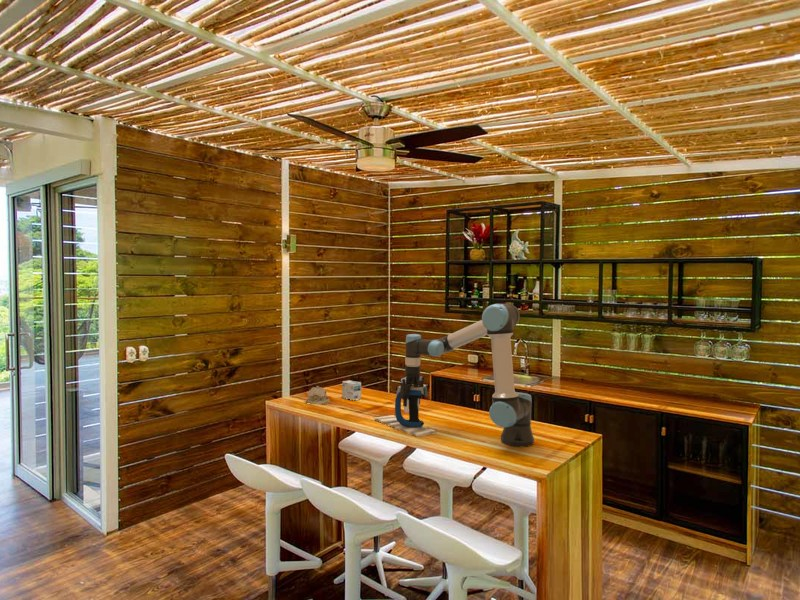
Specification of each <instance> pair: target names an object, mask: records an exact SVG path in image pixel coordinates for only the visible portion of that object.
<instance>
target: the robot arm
mask: <svg viewBox="0 0 800 600" xmlns="http://www.w3.org/2000/svg"><path fill="white" fill-rule="evenodd" d="M520 317H521V316H520V311H519V309H518V308H517V307H516V306H515V305H513V304H512V303H494V304H490V305H489V306H487V307H486V308H485V309H484V310H483V312H482V315H481V319H480V320H478V321H477V322H474V323H472V324H469V325H467V326H465V327H463V328H461V329H459V330H457V331H454V332H453V333H450V334H448V335H445V336H444V337H441V338H436V339H422V335H421V334H419V333H418V334H417V333H411V334H410V333H409V334H406V337H405V342H404V343H405V358H404V359H405V361H404V363H405V364H404V365H405V366H404V374H405V376H404V377H402V378H400V379H399V381H400V386H401V388H400V398H401V400H402V406H403V413H405V414H409V400H408V395H409V392H410V388H411V387H425V386H424V381H425V377H424V376H422V375H420V373H421V355H423V356H431V357H441V356H442V355H443V354H448V353H450V352H452V351H453V350H455V349H457V348H460V347H462V346H465V345H466V344H467V345H468V344H469V343H472V342H474V341H476V340H478V339H480V338H482V337H485V336H488V337H489V338H490V340H491V341H490V343H491V354H492V355H491V356H492V357H491V358H492V370H493V381H494V390H495V391H494V393H493V394H492V397H491V399H492V404H491V406H490V408H489V410H488V411H489V413H488V414H489V418H490V419H491V422H492V423H493V424H495V426H498V427H499V428H503V429H502V433H501V435H500V442H501V441H502V442H501V443H502V444H505V445H507V444H509V445H508V446H511V445H515V446H514V447H520V446H524V447H529V446H528V445H531V446H533V445H534V444H535V437H534V436H533V435H534V434H533V431H532V427H531V425H532V423H531V422H532V403H533V401H532V395H531V394H530V393H525V392H518V391H516V390H515V377H514V376H515V375H514V366H513V355H512V354H513V353H512V339H511V337H512V336H513V334H514V327H516V326H517V325H518V323H519V321H520ZM423 397H424V395H423V394H422V395H421V396H419V397H418V400H417V405H418V413H419V412H420V405H421V399H422V398H423ZM533 443H534V444H533ZM532 444H533V445H532Z"/></svg>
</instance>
